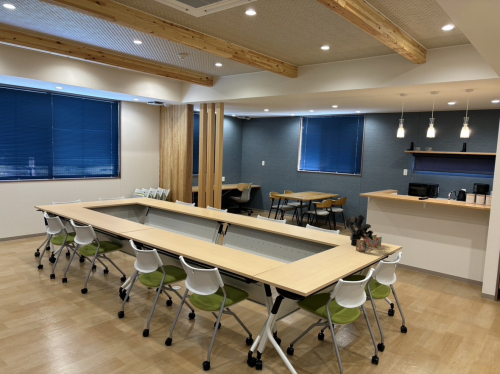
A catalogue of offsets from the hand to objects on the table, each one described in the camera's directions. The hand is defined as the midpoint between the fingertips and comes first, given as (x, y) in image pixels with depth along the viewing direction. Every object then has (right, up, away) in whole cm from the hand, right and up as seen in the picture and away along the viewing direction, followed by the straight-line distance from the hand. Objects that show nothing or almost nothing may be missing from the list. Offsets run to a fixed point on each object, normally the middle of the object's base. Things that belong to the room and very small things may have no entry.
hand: (369, 239), depth 320 cm
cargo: (-7, -11, +3) cm, 14 cm away
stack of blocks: (+12, -11, +28) cm, 33 cm away
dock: (+1, -12, +11) cm, 16 cm away
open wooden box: (-7, -12, +3) cm, 15 cm away
